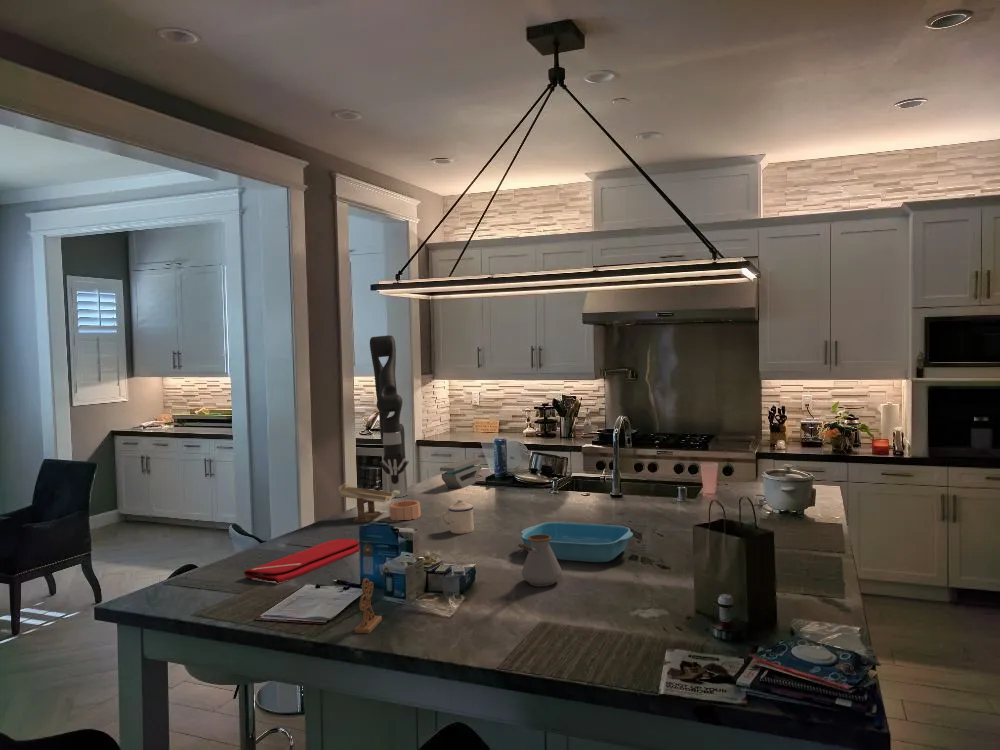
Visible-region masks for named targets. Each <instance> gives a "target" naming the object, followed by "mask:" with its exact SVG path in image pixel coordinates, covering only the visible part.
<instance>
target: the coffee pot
mask: <svg viewBox="0 0 1000 750" xmlns="http://www.w3.org/2000/svg"><path fill="white" fill-rule="evenodd" d="M528 539H529V540H530V542H531V547H529V546H527V545H525V544H524V543H523V544H521V543H520V544H518V545H516V546H515V548H514V550H515V551H516V552H517V553H519V551H518V550H517V547H518V548H520V549H521V551H520V553H522V552H523V551H524V550H525V551H527V550H529V552H528V553H527V556H526V558H525V561H524V564H523V566H522V567H523V568H522V570H521V575H522V577H523V580H525V581H526V582H527V583H528V584H529V585H531V586H535V587H547V586H551V585H554V584H555V583H556V582H557V581H558V580H559V579H560V578H561V575H562V573H563V571H562V570H563V569H562V568H561V565H560V563H559V562H558V559H556V557H555V555H554V553H553V551H552V549H551V547H550V545H549V541H550V539H551V536H549V535H544V534H539V535H533V536H529V537H528Z"/></svg>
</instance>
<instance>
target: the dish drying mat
mask: <svg viewBox="0 0 1000 750" xmlns="http://www.w3.org/2000/svg"><path fill="white" fill-rule="evenodd" d="M359 542H360V541H359V540H357V539H353V538H352V539H351V538H337V539H333V540H330V541H325V542H322V543H320V544H317V545H315V546H312V547H309V548H307V549H304V550H302V551H298V552H295V553H292V554H290V555H287V556H285V557H282V558H278V559H276V560H273V561H270V562H267V563H264V564H261V565H258V566H254V567H252V568H248V569H246V570H244V572H243V574H244V576H245V577H246V578H248V577H250V578H258V579H262V580H267V581H276V582H277V583H279V582H283V581H286V580H289V579H291V580H293V579H292V578H294V579H296V578H298V576H299V577H301V576H304V575H306V574H308V573H310V571H311V572H313V571H316V570H318V569H320V568H322V567H325V566H328V565H329V564H332V563H335V562H337V561H339V560H342V559H344V558H346V557H348V556H351V555H353V554H356V553H358V552H360V551H359ZM315 569H316V570H315ZM305 573H306V574H305ZM303 574H304V575H303ZM300 575H301V576H300ZM295 577H296V578H295ZM289 581H290V580H289ZM286 582H287V581H286Z"/></svg>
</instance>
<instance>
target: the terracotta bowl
mask: <svg viewBox="0 0 1000 750" xmlns="http://www.w3.org/2000/svg"><path fill="white" fill-rule="evenodd" d="M388 507H389V518H390V520H391V519H392V520H391V521H393V520H410V521H412V520H411V519H415V520H417V518H418V519H420V518H419V517H421V516H422V515H421V514H422V513H421V512H422V511H421V502H419V500H401V501H395V502H392V503H391V504H388Z"/></svg>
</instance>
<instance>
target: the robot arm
mask: <svg viewBox="0 0 1000 750" xmlns="http://www.w3.org/2000/svg"><path fill="white" fill-rule="evenodd" d="M396 347H397V346H396V340H395V338H394V336H393V335H389V334H388V335H378V336H372V337H370V339H369V350H370V355H371V361H372V362H371V363H372V368H373V374H374V383H375V384H374V385H375V393H376V395H375V396H376V400H377V401H376V408H377V410H378V418H379V435H380V441H381V444H383V445H382V446H383V454H384V455H383V460H381V461H379V462H378V465H379V466H380V468H381V469H382V470H383V471H384V472H385V474H386V485H387V486H386V487H387V492H393V491H395V490H400V494H398V495H397V496H395V497H396V498H402V497H403V496H404V497H407V496H408V495H409V487H408V475H407V466H408V464H409V463H410V462H409V460H407V459H406V447H405V445H406V444H405V443H406V442H405V441H406V440H405V439H406V438H405V434H406V433H405V428H404V425H403V423H400V421H401V419H400V418H401V411H402V409H403V408H402V407H403V399H402V396H401V395H399V394H398V392H397V380H396V365H397V363H396V361H397V360H396V359H397V358H396V357H397V348H396ZM383 357H387V360H386V362H385V364H384V365H383V364H382V363H381V360H380V358H383ZM390 413H393V415H391V416H389V415H390ZM406 495H407V496H406ZM395 497H393V498H392V499H394V498H395Z"/></svg>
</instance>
